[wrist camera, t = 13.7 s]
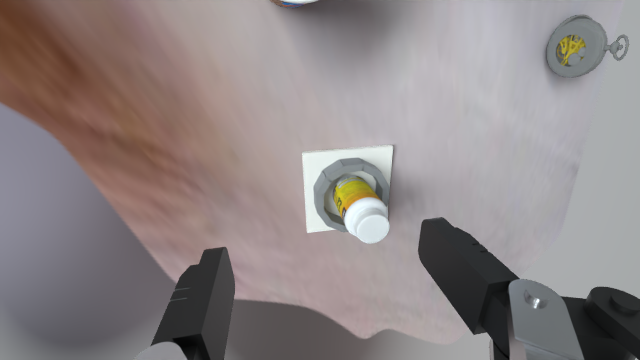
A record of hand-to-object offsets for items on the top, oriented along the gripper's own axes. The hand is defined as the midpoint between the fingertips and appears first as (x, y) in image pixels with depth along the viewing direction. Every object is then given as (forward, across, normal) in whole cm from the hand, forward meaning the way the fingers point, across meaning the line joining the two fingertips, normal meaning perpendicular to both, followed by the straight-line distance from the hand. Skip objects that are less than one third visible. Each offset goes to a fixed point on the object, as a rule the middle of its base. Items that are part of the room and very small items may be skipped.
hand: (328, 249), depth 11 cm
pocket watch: (+27, -38, -7) cm, 47 cm away
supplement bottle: (+26, -8, +11) cm, 29 cm away
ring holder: (+27, -8, +11) cm, 30 cm away
